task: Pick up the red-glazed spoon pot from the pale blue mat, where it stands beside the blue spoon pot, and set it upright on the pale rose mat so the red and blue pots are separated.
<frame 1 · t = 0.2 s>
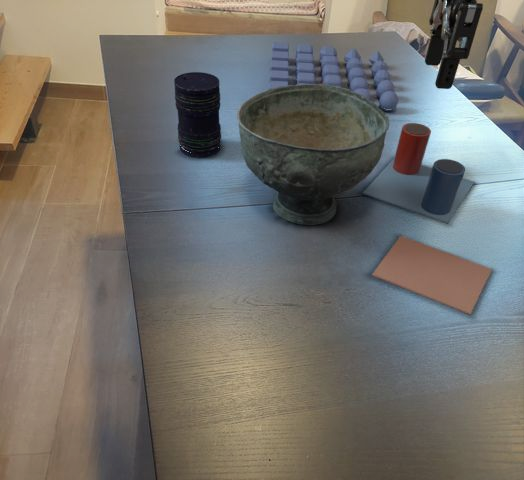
hand: (436, 75, 73), 32 cm above the table, tool pointing down, fingers open, 8 cm apart
blocks: (329, 85, 148), on the table
decorative bowl: (303, 208, 105), on the table
storage jar: (200, 148, 120), on the table
blue spoon pot: (435, 206, 107), resting on blue mat
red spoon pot: (406, 168, 117), resting on blue mat
blue mat: (419, 188, 112), on the table
rose mat: (432, 273, 93), on the table
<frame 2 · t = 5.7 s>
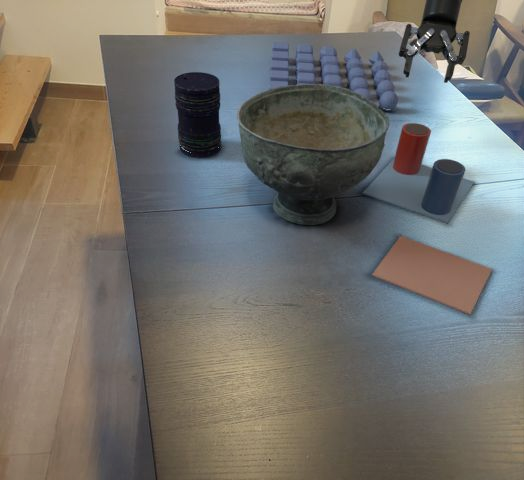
hand: (426, 78, 113), 16 cm above the table, tool tilted 45°, fingers open, 8 cm apart
nothing on the table moved.
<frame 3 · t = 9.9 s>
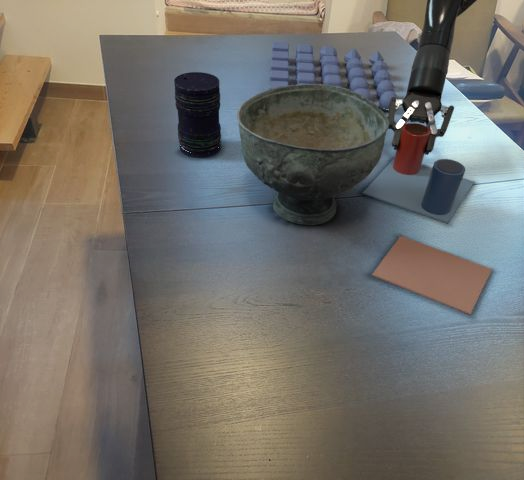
hand: (411, 150, 112), 5 cm above the table, tool tilted 45°, fingers closed on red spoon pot, 6 cm apart
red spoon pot: (406, 168, 117), resting on blue mat, touching gripper
everything else where it was.
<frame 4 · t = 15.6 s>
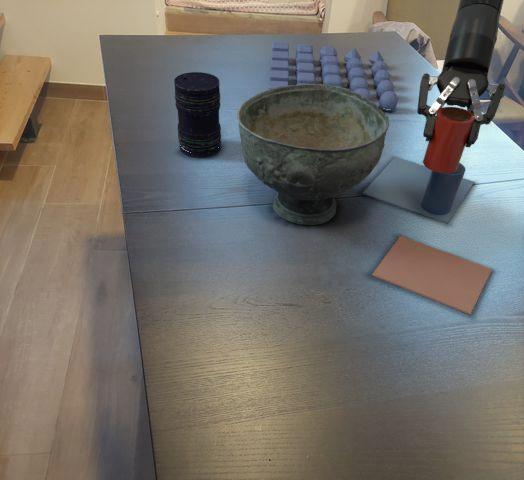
hand: (448, 142, 88), 18 cm above the table, tool tilted 45°, fingers closed on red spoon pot, 6 cm apart
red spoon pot: (440, 164, 93), point 13 cm above the table, touching gripper
everything else where it was.
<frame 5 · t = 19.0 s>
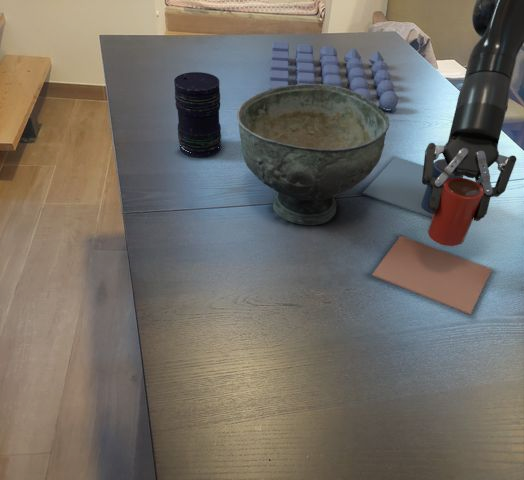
hand: (455, 215, 82), 13 cm above the table, tool tilted 45°, fingers closed on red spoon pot, 6 cm apart
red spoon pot: (446, 235, 87), point 8 cm above the table, touching gripper
everything else where it was.
when the fingers open (5 cm above the table, at t = 21.7 s): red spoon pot stays where it is, resting on rose mat.
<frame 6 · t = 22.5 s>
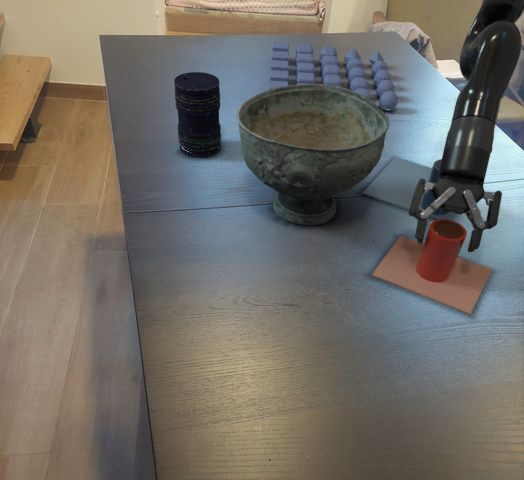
hand: (445, 247, 87), 7 cm above the table, tool tilted 45°, fingers open, 8 cm apart
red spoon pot: (432, 271, 93), resting on rose mat
everything else where it was.
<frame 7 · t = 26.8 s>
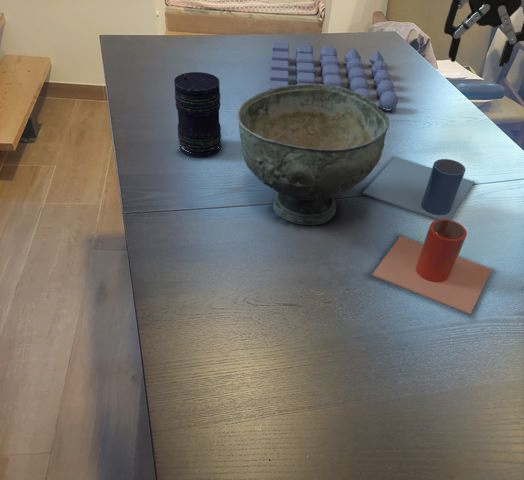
hand: (476, 62, 94), 25 cm above the table, tool pointing down, fingers open, 8 cm apart
nothing on the table moved.
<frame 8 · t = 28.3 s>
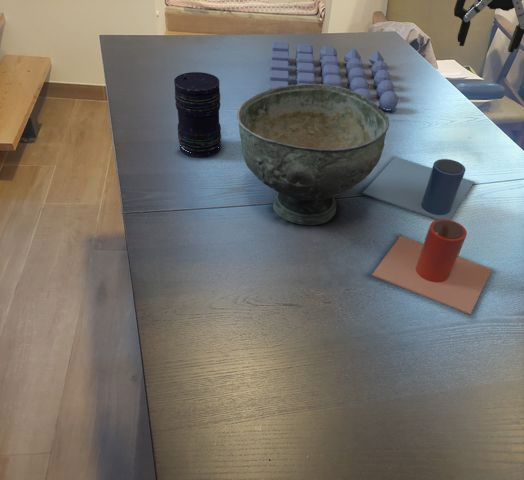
hand: (485, 47, 91), 28 cm above the table, tool pointing down, fingers open, 8 cm apart
nothing on the table moved.
at the end: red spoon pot inside the target area on the rose mat (0.1 cm from its centre), point 0.4 cm above the rose mat's base; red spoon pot tilted 0°; blue spoon pot moved 0.0 cm from its start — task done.
